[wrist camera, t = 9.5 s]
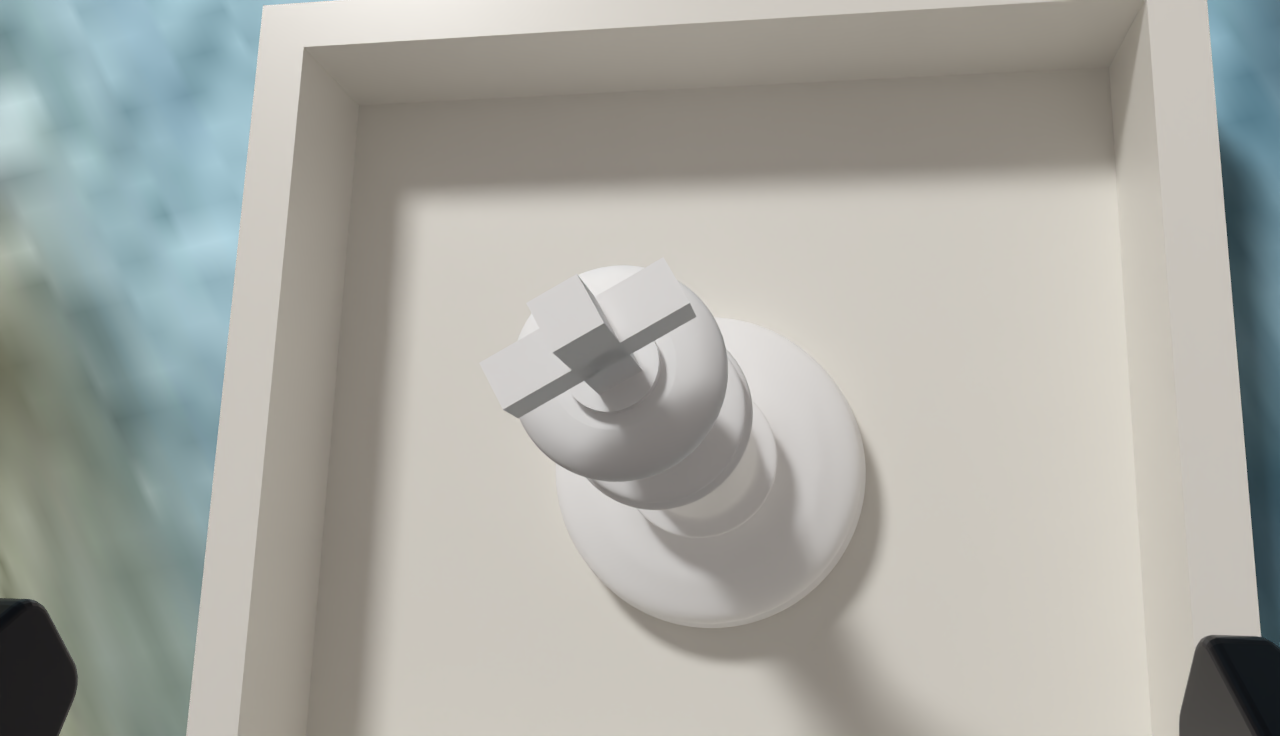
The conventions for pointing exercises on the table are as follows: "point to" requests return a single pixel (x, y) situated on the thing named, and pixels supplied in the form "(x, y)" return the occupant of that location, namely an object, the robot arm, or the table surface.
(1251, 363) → the table surface
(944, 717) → the tray
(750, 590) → the chess piece
